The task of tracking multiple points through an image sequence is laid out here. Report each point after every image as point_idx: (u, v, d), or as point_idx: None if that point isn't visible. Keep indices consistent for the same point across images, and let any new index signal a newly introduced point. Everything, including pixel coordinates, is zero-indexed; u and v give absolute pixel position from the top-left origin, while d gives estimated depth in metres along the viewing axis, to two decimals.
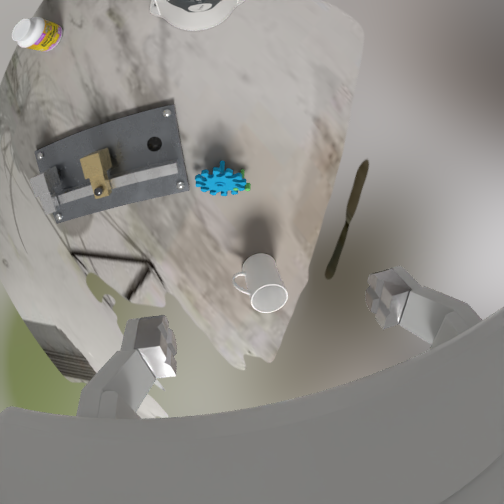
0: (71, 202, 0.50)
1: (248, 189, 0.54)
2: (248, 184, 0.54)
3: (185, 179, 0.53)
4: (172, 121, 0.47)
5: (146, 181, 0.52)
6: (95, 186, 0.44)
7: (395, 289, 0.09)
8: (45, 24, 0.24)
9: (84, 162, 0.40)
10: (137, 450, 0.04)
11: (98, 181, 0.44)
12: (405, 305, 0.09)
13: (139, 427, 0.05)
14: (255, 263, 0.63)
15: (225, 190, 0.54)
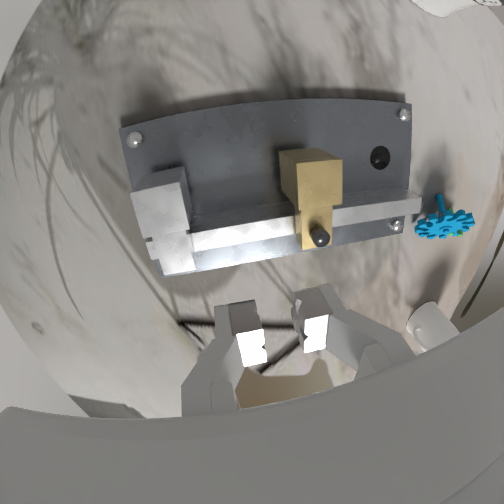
0: None
1: (460, 235, 0.34)
2: (461, 229, 0.34)
3: (403, 217, 0.34)
4: (407, 129, 0.27)
5: None
6: (310, 225, 0.24)
7: (312, 312, 0.09)
8: None
9: (306, 173, 0.21)
10: (137, 450, 0.04)
11: (319, 216, 0.24)
12: (327, 329, 0.09)
13: (139, 427, 0.05)
14: (432, 315, 0.44)
15: (440, 234, 0.35)
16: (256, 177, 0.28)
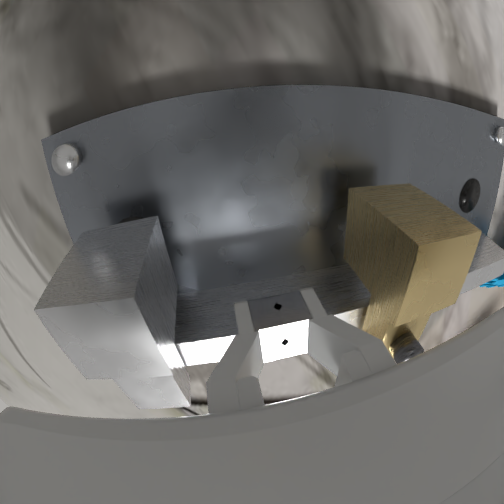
0: None
1: None
2: None
3: None
4: (500, 156, 0.15)
5: None
6: (395, 335, 0.12)
7: (291, 316, 0.09)
8: None
9: (429, 264, 0.08)
10: (137, 450, 0.04)
11: (413, 320, 0.12)
12: (308, 334, 0.09)
13: (139, 427, 0.05)
14: None
15: (502, 284, 0.23)
16: (297, 229, 0.15)
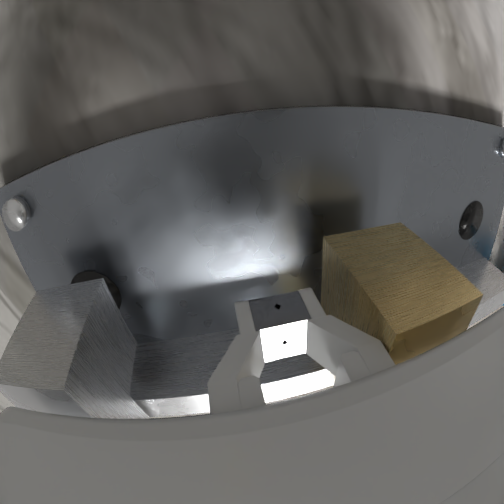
0: None
1: None
2: None
3: None
4: None
5: None
6: None
7: (290, 317, 0.09)
8: None
9: (410, 347, 0.07)
10: (137, 450, 0.04)
11: None
12: (307, 334, 0.09)
13: (139, 427, 0.05)
14: None
15: None
16: (265, 278, 0.14)
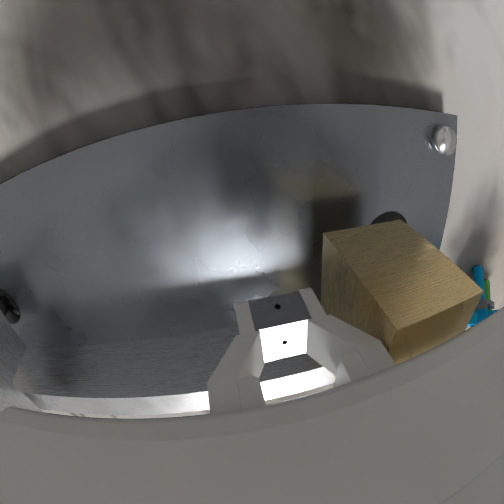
0: None
1: None
2: None
3: None
4: (446, 171, 0.12)
5: None
6: None
7: (290, 317, 0.09)
8: None
9: (411, 343, 0.07)
10: (137, 450, 0.04)
11: None
12: (307, 334, 0.09)
13: (139, 427, 0.05)
14: None
15: None
16: (112, 302, 0.13)
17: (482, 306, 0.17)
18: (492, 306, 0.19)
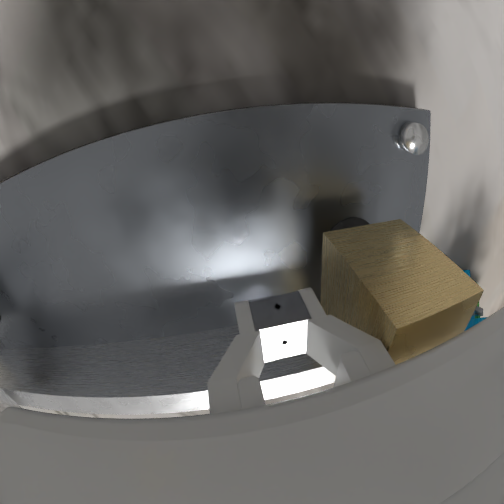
0: None
1: None
2: None
3: None
4: (418, 171, 0.12)
5: None
6: None
7: (290, 317, 0.09)
8: None
9: (411, 342, 0.07)
10: (137, 450, 0.04)
11: None
12: (307, 334, 0.09)
13: (139, 427, 0.05)
14: None
15: None
16: (77, 306, 0.13)
17: None
18: (480, 313, 0.19)
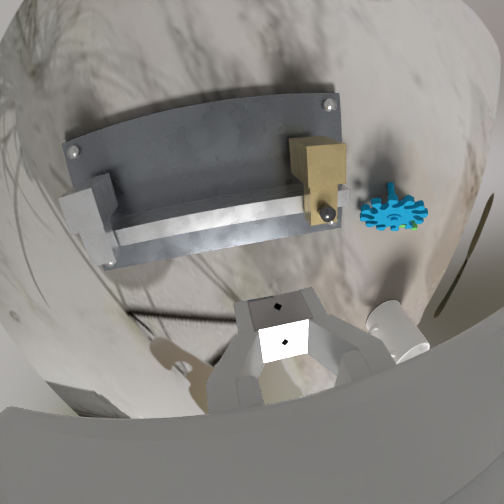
0: None
1: (415, 228, 0.36)
2: None
3: (339, 211, 0.35)
4: (335, 120, 0.29)
5: None
6: (317, 203, 0.27)
7: (291, 316, 0.09)
8: None
9: (315, 155, 0.23)
10: (137, 450, 0.04)
11: (326, 195, 0.27)
12: (308, 334, 0.09)
13: (139, 427, 0.05)
14: (391, 315, 0.45)
15: (389, 224, 0.36)
16: (175, 178, 0.30)
17: None
18: None
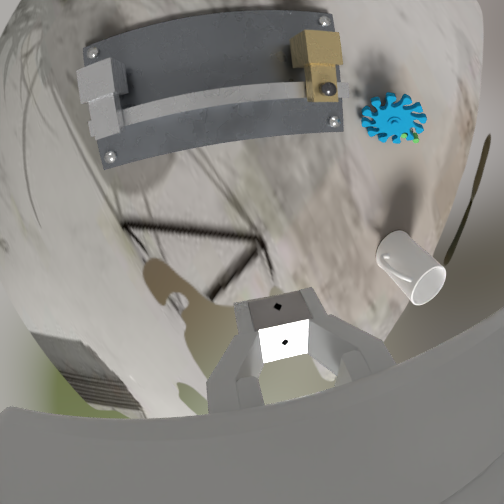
0: (140, 131, 0.30)
1: (416, 140, 0.34)
2: (416, 135, 0.34)
3: (340, 114, 0.33)
4: None
5: (285, 107, 0.32)
6: (318, 81, 0.25)
7: (291, 316, 0.09)
8: None
9: (312, 37, 0.21)
10: (137, 450, 0.04)
11: (325, 75, 0.24)
12: (308, 334, 0.09)
13: (139, 427, 0.05)
14: (402, 242, 0.43)
15: (391, 133, 0.34)
16: (184, 72, 0.27)
17: None
18: None
